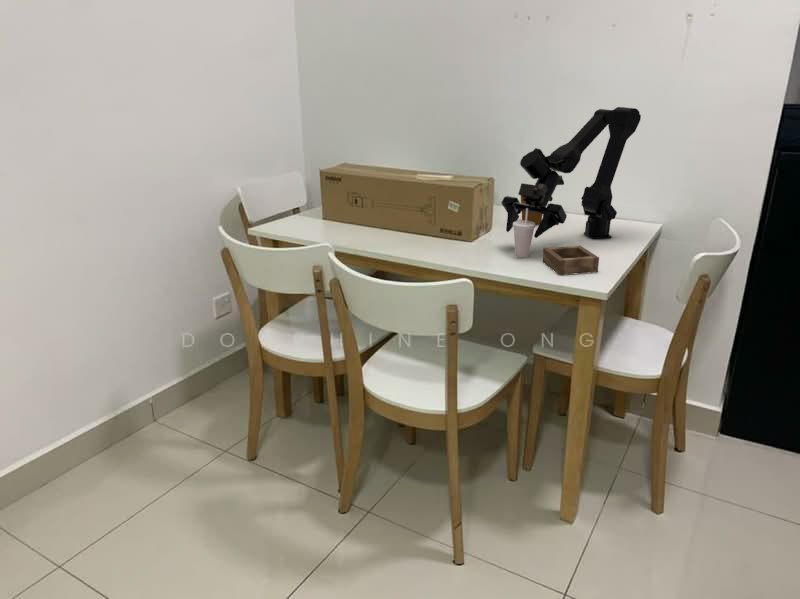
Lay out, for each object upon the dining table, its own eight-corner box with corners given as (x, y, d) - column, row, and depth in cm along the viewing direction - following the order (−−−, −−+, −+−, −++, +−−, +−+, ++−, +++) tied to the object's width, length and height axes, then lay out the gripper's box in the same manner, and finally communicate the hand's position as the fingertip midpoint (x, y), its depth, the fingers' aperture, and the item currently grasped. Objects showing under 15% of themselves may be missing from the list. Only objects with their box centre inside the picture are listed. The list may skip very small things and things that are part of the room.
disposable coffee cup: (542, 218, 213) (545, 184, 208) (548, 226, 204) (551, 190, 200) (515, 219, 213) (517, 185, 209) (519, 226, 204) (521, 191, 200)
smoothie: (533, 259, 173) (536, 211, 167) (510, 258, 174) (513, 210, 168) (533, 252, 178) (536, 205, 173) (511, 251, 180) (513, 205, 174)
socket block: (579, 258, 173) (580, 245, 171) (597, 271, 163) (599, 257, 161) (542, 261, 171) (543, 248, 169) (558, 275, 161) (560, 260, 159)
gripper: (506, 168, 176) (482, 213, 173) (565, 176, 164) (540, 224, 161) (519, 190, 184) (497, 234, 181) (576, 199, 172) (553, 246, 169)
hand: (520, 234), depth 173 cm, fingers open, 9 cm apart
